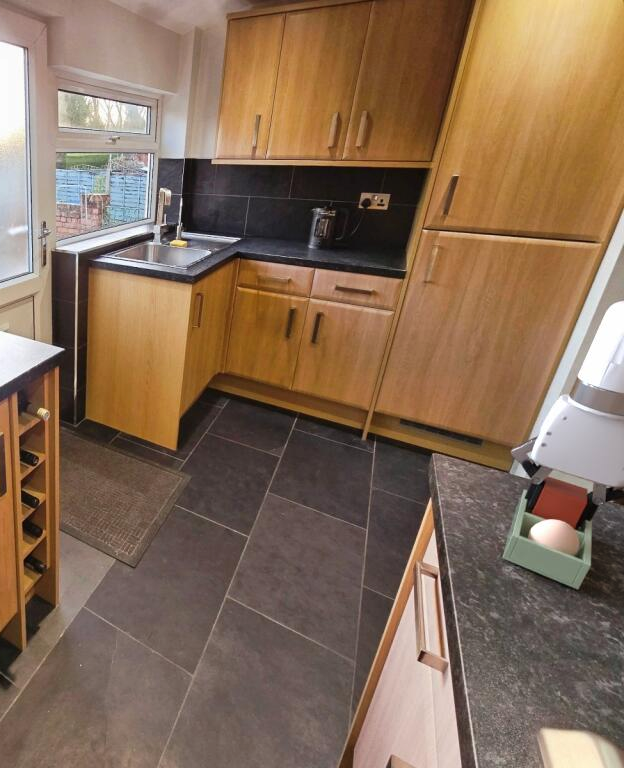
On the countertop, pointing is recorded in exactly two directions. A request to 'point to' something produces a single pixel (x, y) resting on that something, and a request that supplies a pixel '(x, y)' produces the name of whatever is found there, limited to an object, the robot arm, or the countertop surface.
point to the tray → (547, 549)
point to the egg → (556, 536)
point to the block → (561, 501)
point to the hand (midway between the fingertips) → (554, 512)
